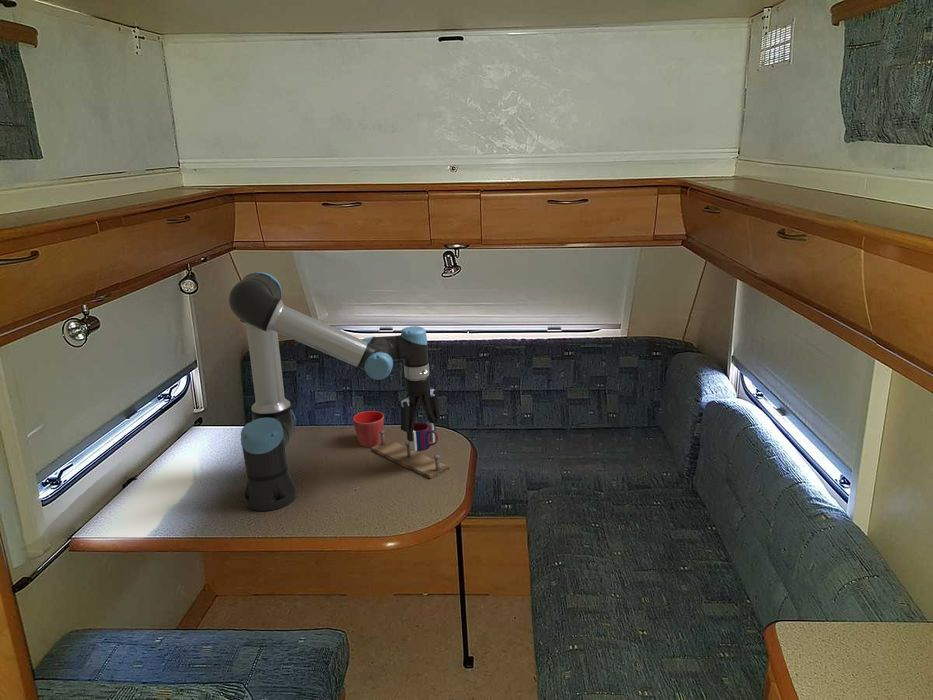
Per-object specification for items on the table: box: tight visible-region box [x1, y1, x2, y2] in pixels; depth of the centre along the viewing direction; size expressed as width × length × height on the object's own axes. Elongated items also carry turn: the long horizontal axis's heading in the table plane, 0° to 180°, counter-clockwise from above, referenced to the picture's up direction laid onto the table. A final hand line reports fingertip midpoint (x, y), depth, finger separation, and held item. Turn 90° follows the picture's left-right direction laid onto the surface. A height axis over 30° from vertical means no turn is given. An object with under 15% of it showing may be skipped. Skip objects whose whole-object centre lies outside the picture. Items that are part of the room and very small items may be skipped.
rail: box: [371, 429, 450, 480], centre depth 220 cm, size 30×8×6 cm, turn 44°
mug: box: [409, 422, 439, 452], centre depth 213 cm, size 7×10×7 cm
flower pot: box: [352, 410, 385, 448], centre depth 234 cm, size 11×11×10 cm
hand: (422, 445), depth 214 cm, fingers closed on mug, 7 cm apart
